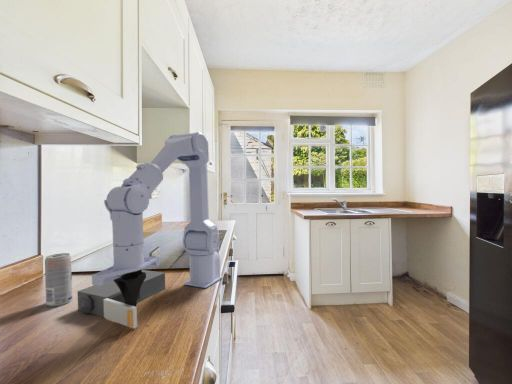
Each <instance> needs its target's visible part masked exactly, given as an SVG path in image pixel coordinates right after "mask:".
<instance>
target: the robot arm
mask: <svg viewBox="0 0 512 384" xmlns="http://www.w3.org/2000/svg"><path fill="white" fill-rule="evenodd" d="M209 154H210V153H209V140H208V139H207V137H206V136H205V135H204V133H202V132H201V131H196V132H192V133H184V134H183V133H181V134H172V135H169V137H168V138H166V139H165V140H164V146H163V147H162V148H161V149H160V150H159V151H158V153H157V155H155V157H154V158H153V159H152V161H151V162H144V163H140V164H138V165H137V166H136V167H135V168H136V170H134V172H133V173H132V174H131V175H130V176H129V177H128V178H125V179H124V180H122V184H121V185H120V186H115V187H112V188H111V190H110V191H108V194H107V195H106V199H104V200H103V203H104V204H103V205H104V206H105V209H106V210H107V211H108V212H109V215H110V216H109V218H110V219H109V220H111V223H112V224H111V225H112V227H111V228H112V253H113V264H112V266H110V267H107V268H105V269H103V270H101V271H99V272H96V273H94V274H91V284H92V285H91V286H94V285H95V286H101V285H103V284H104V283H106V282H109V281H112V280H113V281H114V282H115V283H116V284H117V286H118V287H119V289H120V291H121V293H122V295H123V298H124V300H125V304H128V305H132V306H135V307H137V303H138V302H137V298H138V294H139V291H140V288H141V286H142V284H143V282H144V280H145V278H146V273H145V272H142V270H147V269H148V268H151V267H157V266H159V265H161V264H160V262H161V261H160V256H159V255H158V256H157V255H151V256H148V257H145V250H144V247H145V246H144V219H143V218H144V217H143V216H144V215H143V214H144V213H143V212H145V210H147V209H148V207H149V204H150V198H151V197H152V193H153V192H154V191H155V190H156V189H157V188H158V186H159V185H160V184H161V183H162V181H163V180H164V174H163V172H165V171H166V170H167V169H168V168H169V167H170V166H171V165H172V164H173V163H174V162H175V161H176V160H177V161H179V162H180V163H182V164H183V165H186V167H187V168H188V171H189V173H188V174H189V175H188V176H189V202H190V206H189V207H190V208H189V209H190V222H189V223H187V224H186V225H185V226H184V234H183V237H182V246H183V248H184V250H186V253H187V254H189V280H187V281H185V282H183V285H185V286H191V287H195V288H196V287H197V288H203V289H206V288H208V287H211V286H212V285H213V284H215V283H217V282H218V281H220V280H222V279H224V277H223V275H221V257H220V254H219V253H218V252H217V250H218V248H219V247H220V244H221V243H220V241H221V240H220V239H221V238H220V235H219V232H218V226H217V225H216V224H215V223H214V222H212V221H211V220H210V215H209V214H210V213H209V180H208V176H209V175H208V163H209V161H210V160H209V159H210V158H209V157H210V156H209Z"/></svg>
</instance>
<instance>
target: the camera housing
mask: <svg viewBox="0 0 512 384" xmlns="http://www.w3.org/2000/svg"><path fill="white" fill-rule="evenodd" d="M142 272H145V273H146V278H145V280H144V282H143V284H142V286H141V288H140V291H139V294H138V298H137V303H139V302H141V301H144V300H145V299H148V298H150V297H151V296H153V295H156V294H157V293H159V292H162V291H164V290H166V273H165V272H162V271H155V270H154V271H152V270H147V269H143V270H142ZM106 298H108V299H112V300H115V301H118V302H122V303H125V300H124V298H123V295H122V293H121V291H120V289H119V287H118V286H117V284H116V283H115V282H114V281H113V280H112V281H109V282H106V283H104V284H103V285H101V286H95V285H91V286H88V287H86V288H82V289H80V290H77V310H78V311H80V312H82V313H84V314H87V313H88V314H91V315H95V316H99V317H103V318H104V301H103V299H106Z"/></svg>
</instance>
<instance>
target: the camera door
mask: <svg viewBox="0 0 512 384" xmlns="http://www.w3.org/2000/svg"><path fill="white" fill-rule="evenodd" d="M103 301H104V317H103V318H104V319H107V320H110V321H111V322H115V323H118V324H121V325H123V326H126V327H129V328H131V329H136V328H137V327H138V312H137V311H138V310H137V309H138V307H137V306H136V307H135V306H132V305H128V304H125V303H122V302H118V301H115V300H112V299H108V298H106V299H103Z"/></svg>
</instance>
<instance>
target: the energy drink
mask: <svg viewBox="0 0 512 384" xmlns="http://www.w3.org/2000/svg"><path fill="white" fill-rule="evenodd" d="M72 278H73V277H72V256H71V255H70V253H69V252H65V253H64V252H63V253H62V252H61V253H55V254H50V255H47V256H45V259H44V279H45V281H44V282H45V284H44V285H45V286H44V287H45V304H46V306H48V307H51V308H54V307H55V308H56V307H60V306H63V305H66V304H69V303H71V301H72V300H73V282H72V281H73V280H72Z"/></svg>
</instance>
